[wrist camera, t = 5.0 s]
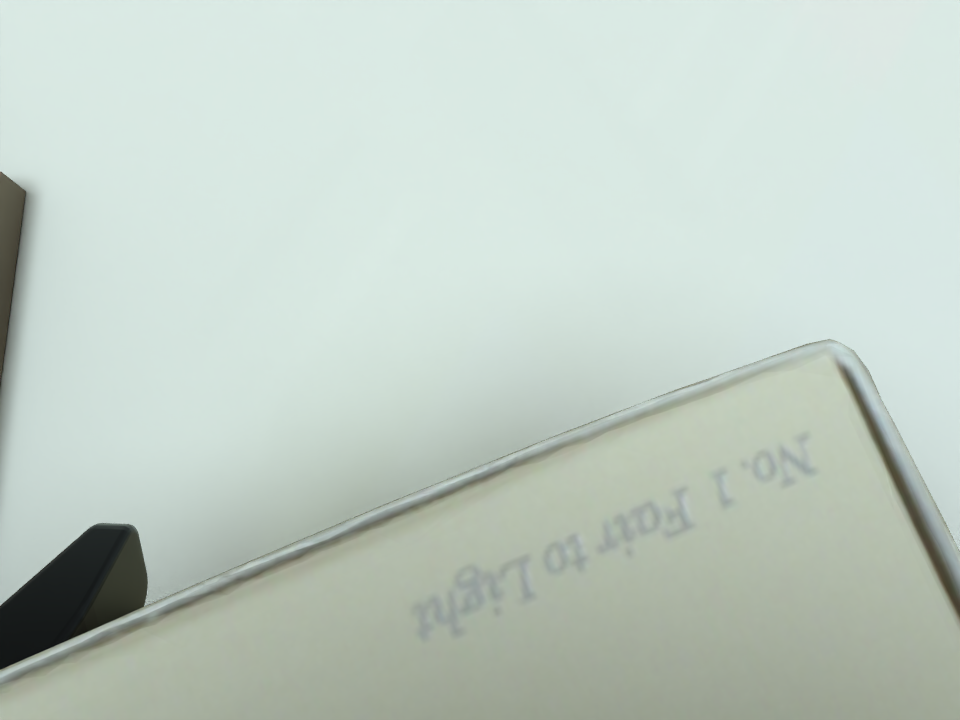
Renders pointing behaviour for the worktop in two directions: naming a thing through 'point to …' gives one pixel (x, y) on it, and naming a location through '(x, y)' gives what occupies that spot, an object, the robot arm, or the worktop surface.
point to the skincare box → (580, 583)
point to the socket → (8, 249)
